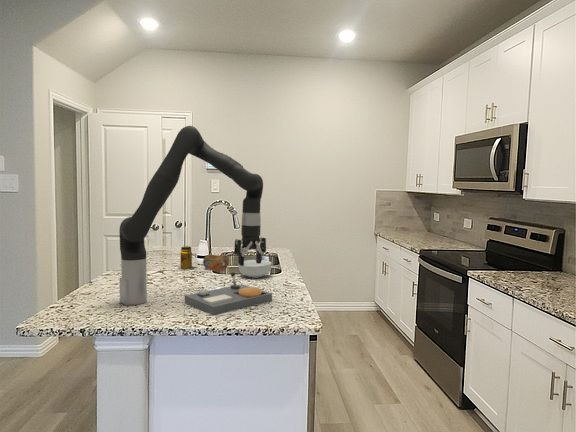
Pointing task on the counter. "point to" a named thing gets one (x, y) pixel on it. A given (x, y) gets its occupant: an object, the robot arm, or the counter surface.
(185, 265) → the condiment
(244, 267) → the cereal bowl
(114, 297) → the counter surface
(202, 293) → the grey button
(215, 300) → the key
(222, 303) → the control panel
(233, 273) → the toggle lever
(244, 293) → the orange button
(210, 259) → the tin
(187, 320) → the counter surface
